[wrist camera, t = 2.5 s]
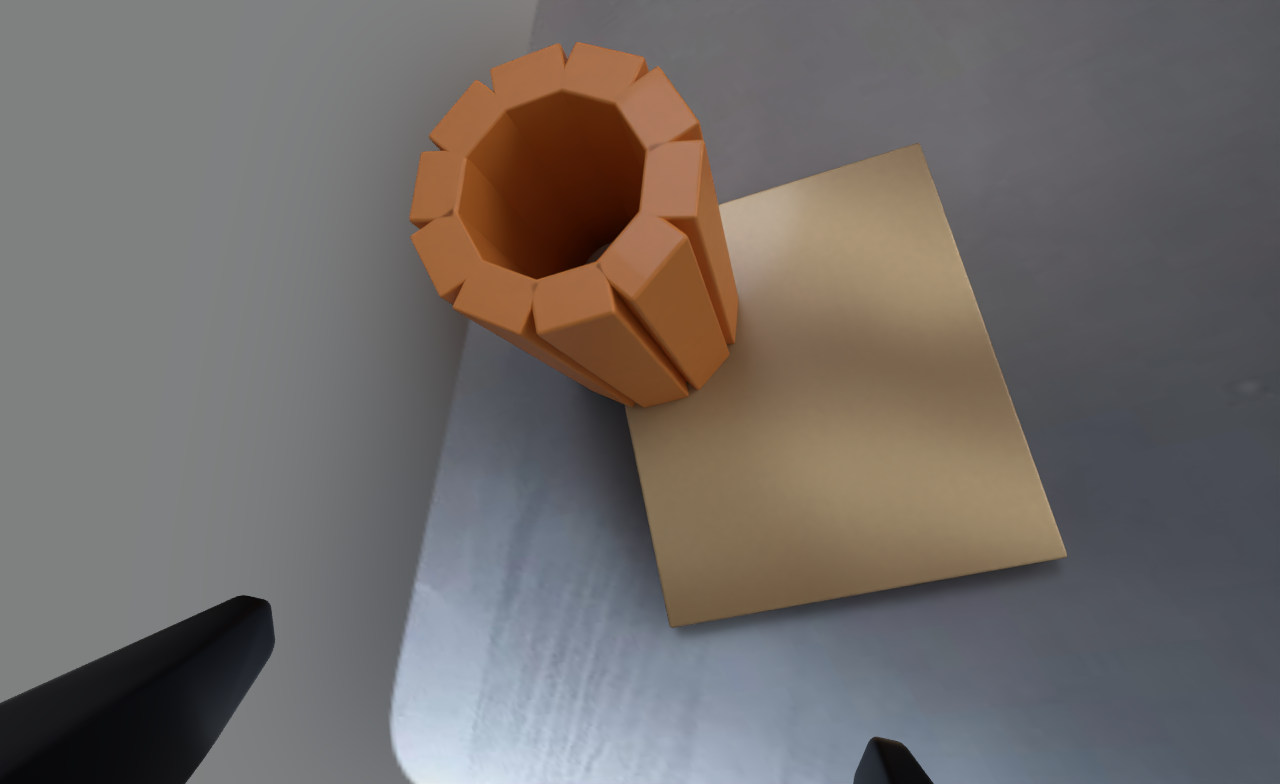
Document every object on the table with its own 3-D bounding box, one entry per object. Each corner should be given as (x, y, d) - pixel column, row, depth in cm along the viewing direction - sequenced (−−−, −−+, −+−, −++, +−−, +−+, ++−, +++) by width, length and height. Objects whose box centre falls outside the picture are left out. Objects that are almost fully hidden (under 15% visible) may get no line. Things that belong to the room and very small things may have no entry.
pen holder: (759, 379, 20) (740, 277, 11) (578, 425, 21) (425, 367, 12) (715, 212, 22) (667, 0, 12) (548, 263, 23) (393, 104, 14)
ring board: (1054, 554, 18) (1152, 573, 13) (674, 622, 20) (641, 660, 15) (913, 157, 21) (951, 56, 16) (598, 253, 23) (551, 189, 19)
